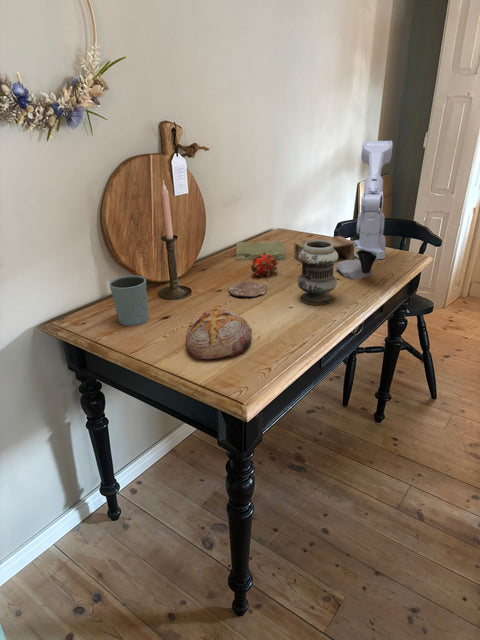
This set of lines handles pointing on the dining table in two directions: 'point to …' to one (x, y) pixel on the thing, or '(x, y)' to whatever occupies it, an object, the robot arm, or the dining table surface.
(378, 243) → the robot arm
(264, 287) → the shell
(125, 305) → the teal cup
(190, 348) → the bread
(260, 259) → the dragon fruit
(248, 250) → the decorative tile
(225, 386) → the dining table surface
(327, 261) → the apothecary jar
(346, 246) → the oak shelf
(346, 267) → the stone block
